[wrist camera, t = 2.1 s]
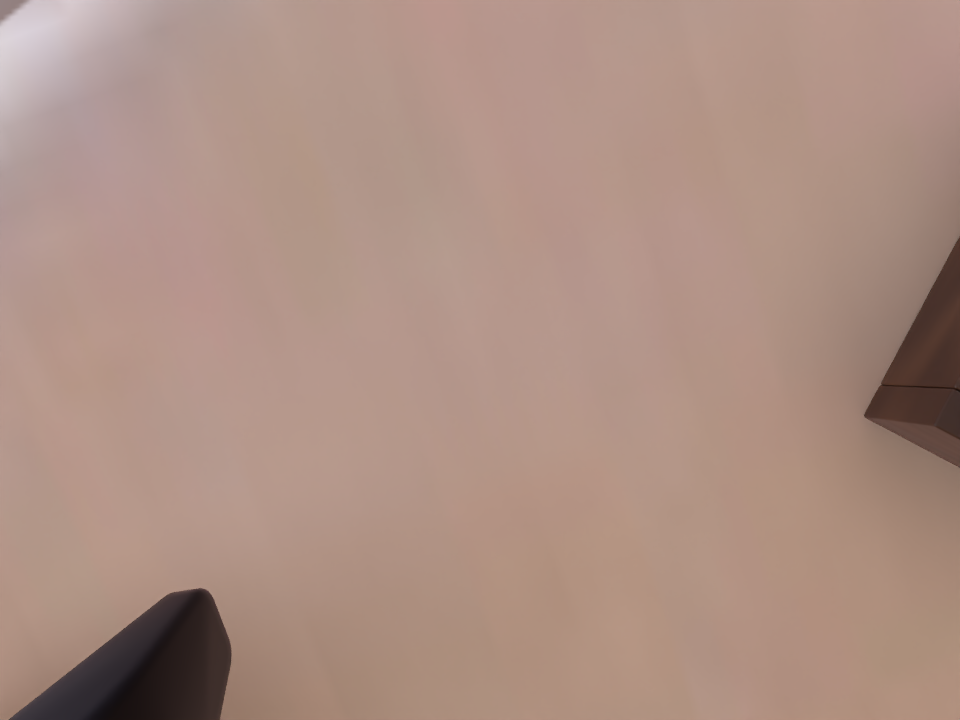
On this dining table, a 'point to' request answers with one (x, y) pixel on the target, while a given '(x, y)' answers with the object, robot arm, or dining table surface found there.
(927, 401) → the wooden holder
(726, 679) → the dining table surface
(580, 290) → the dining table surface
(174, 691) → the robot arm
